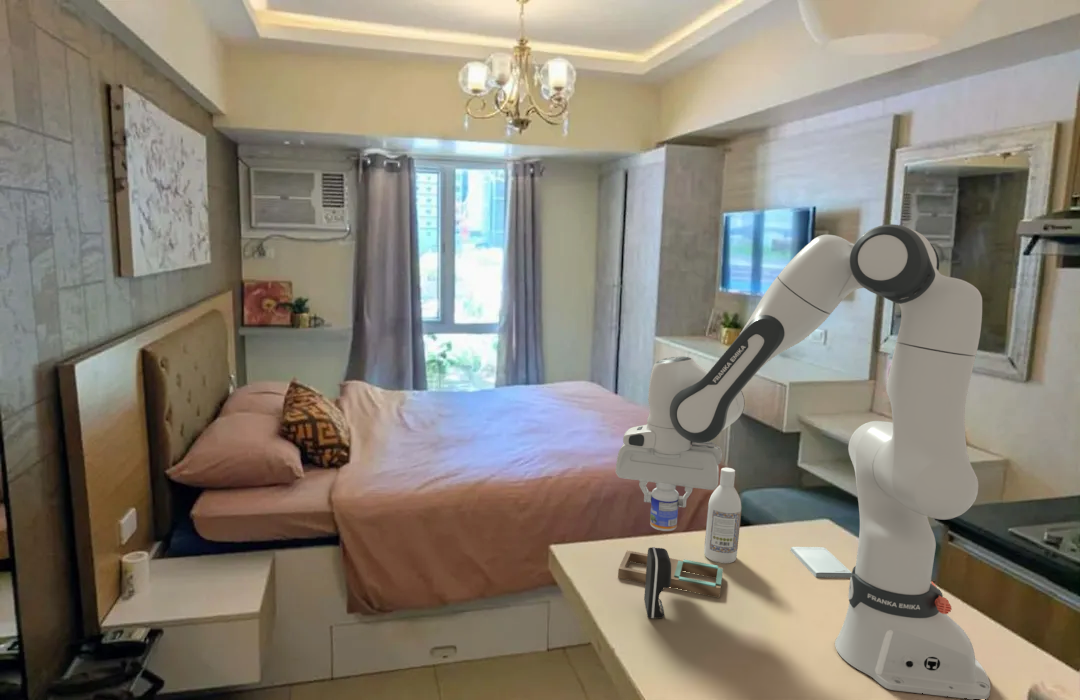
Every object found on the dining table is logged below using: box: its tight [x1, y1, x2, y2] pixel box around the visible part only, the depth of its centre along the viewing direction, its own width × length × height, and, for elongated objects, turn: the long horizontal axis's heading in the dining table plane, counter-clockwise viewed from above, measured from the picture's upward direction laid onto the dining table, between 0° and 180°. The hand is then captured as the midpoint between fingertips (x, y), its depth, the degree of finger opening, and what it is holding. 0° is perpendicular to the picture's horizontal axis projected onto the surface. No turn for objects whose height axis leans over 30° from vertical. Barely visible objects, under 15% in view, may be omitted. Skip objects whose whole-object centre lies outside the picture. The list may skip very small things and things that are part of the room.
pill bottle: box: [649, 483, 680, 532], centre depth 137 cm, size 5×5×10 cm
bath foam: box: [703, 467, 742, 564], centre depth 148 cm, size 7×7×20 cm
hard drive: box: [789, 546, 852, 579], centre depth 149 cm, size 2×8×12 cm
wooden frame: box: [617, 549, 724, 599], centre depth 139 cm, size 20×9×2 cm, turn 72°
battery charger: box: [643, 546, 671, 619], centre depth 125 cm, size 7×4×11 cm, turn 177°
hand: (664, 503), depth 137 cm, fingers closed on pill bottle, 5 cm apart
